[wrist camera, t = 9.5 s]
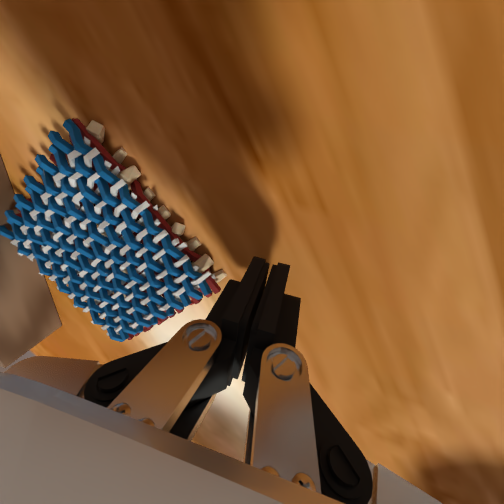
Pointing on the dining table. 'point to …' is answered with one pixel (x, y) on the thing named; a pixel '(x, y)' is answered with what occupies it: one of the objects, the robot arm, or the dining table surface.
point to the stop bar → (20, 291)
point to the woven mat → (106, 237)
